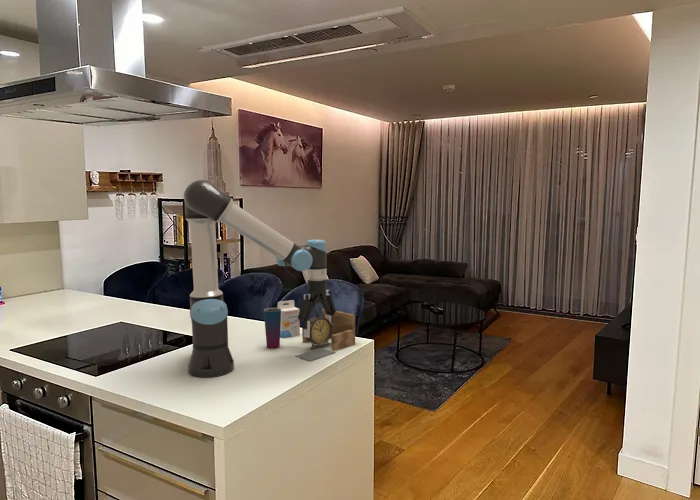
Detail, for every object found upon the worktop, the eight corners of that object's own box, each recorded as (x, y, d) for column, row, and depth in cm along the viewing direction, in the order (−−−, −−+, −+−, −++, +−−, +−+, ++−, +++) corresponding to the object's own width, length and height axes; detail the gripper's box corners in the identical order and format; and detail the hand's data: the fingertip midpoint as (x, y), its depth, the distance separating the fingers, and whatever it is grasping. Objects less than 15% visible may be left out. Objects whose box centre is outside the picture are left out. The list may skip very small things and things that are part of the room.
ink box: (282, 338, 206) (281, 303, 205) (277, 335, 210) (276, 301, 209) (300, 335, 211) (299, 301, 209) (295, 332, 215) (294, 299, 213)
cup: (285, 346, 195) (284, 309, 193) (273, 350, 189) (272, 312, 188) (272, 343, 199) (272, 307, 197) (260, 347, 193) (260, 310, 192)
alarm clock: (311, 350, 189) (310, 309, 187) (302, 347, 193) (302, 307, 191) (332, 345, 196) (332, 305, 194) (324, 342, 200) (323, 303, 198)
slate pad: (310, 361, 176) (310, 360, 176) (295, 356, 182) (295, 355, 181) (335, 353, 186) (335, 352, 186) (320, 348, 191) (320, 347, 191)
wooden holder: (334, 351, 188) (333, 320, 187) (302, 342, 200) (302, 313, 199) (355, 344, 197) (355, 314, 196) (324, 335, 209) (323, 308, 208)
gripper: (301, 284, 180) (302, 342, 183) (344, 276, 198) (344, 329, 200) (287, 281, 185) (288, 338, 188) (331, 274, 203) (331, 326, 205)
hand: (317, 334), depth 194 cm, fingers closed on alarm clock, 11 cm apart
